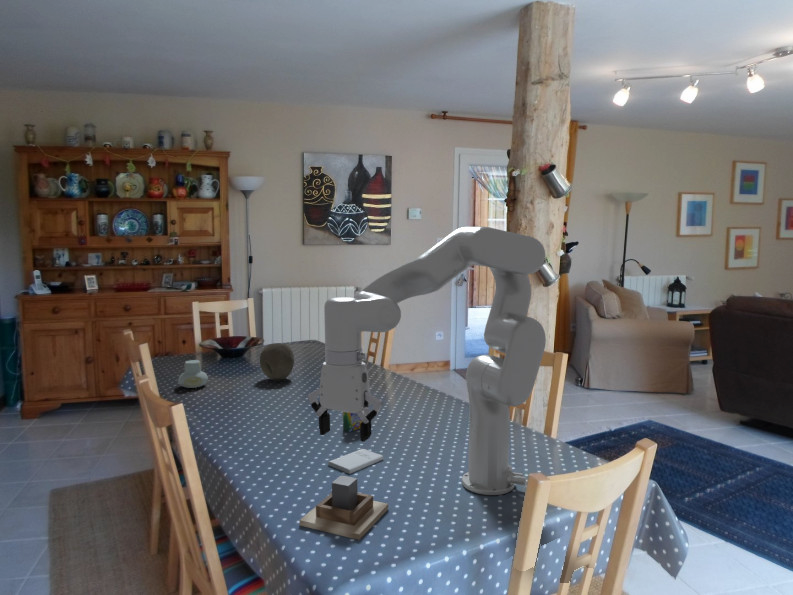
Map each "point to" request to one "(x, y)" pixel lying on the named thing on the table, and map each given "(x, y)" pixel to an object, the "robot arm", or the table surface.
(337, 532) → the end holder
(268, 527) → the table surface
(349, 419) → the crayon box
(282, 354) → the cantaloupe
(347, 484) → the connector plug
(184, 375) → the air freshener
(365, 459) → the external hard drive
